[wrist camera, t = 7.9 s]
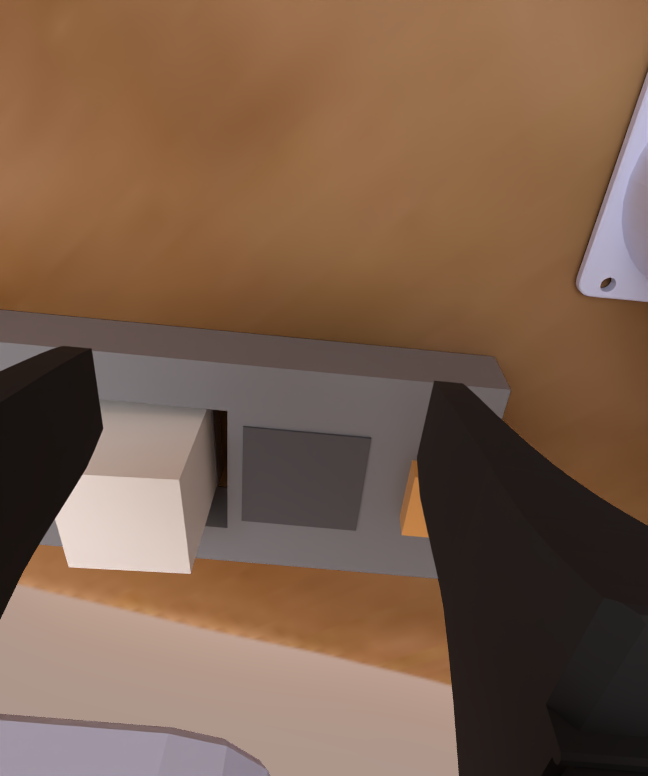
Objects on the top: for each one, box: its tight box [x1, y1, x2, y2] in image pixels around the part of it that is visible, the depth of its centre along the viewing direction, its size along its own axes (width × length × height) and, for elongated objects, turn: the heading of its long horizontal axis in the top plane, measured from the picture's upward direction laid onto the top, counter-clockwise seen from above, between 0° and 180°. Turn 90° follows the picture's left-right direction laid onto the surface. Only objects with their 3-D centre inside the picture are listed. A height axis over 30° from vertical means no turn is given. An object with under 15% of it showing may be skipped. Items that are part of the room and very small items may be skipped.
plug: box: [55, 399, 223, 574], centre depth 21 cm, size 4×4×6 cm
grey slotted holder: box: [0, 310, 511, 579], centre depth 22 cm, size 20×10×4 cm, turn 85°
